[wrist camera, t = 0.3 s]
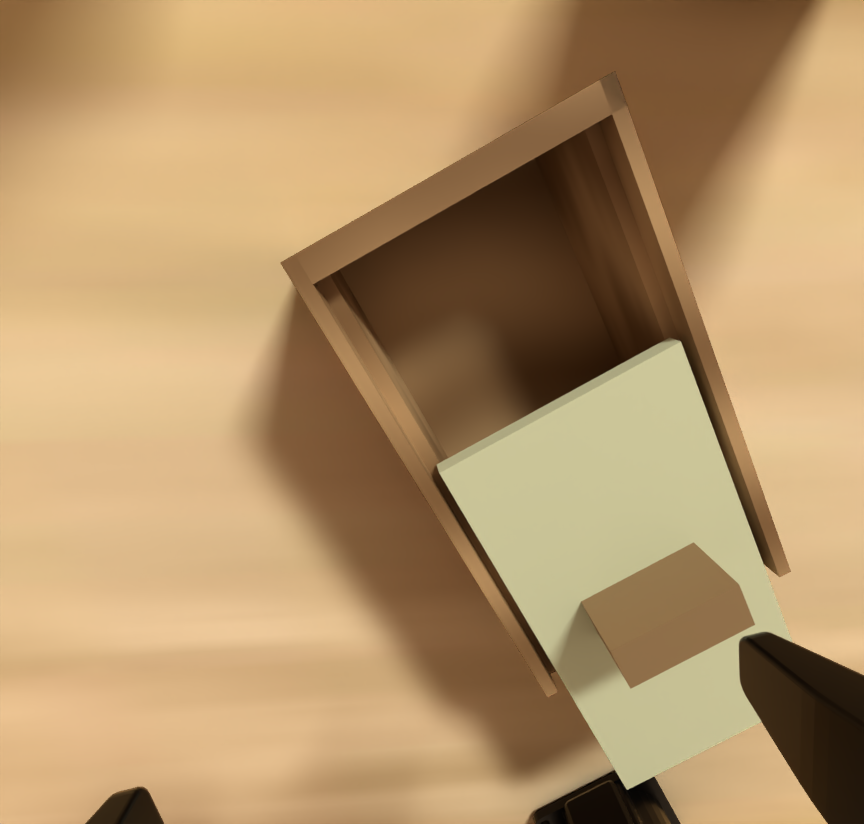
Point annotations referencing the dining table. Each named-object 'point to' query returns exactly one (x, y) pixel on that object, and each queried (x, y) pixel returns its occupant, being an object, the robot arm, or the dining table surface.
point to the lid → (627, 557)
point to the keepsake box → (515, 306)
